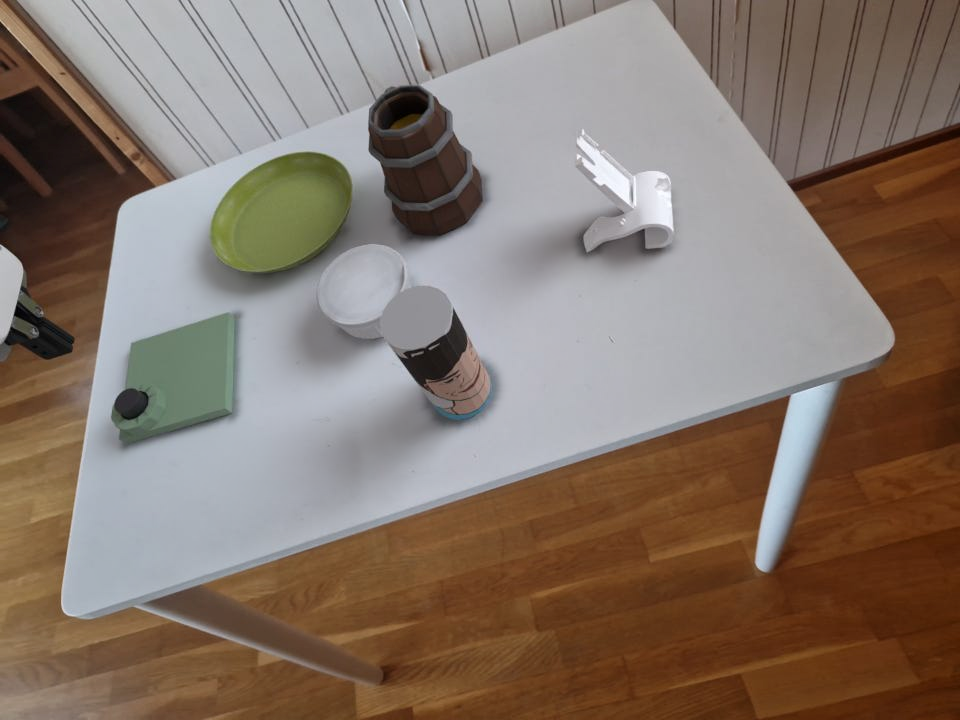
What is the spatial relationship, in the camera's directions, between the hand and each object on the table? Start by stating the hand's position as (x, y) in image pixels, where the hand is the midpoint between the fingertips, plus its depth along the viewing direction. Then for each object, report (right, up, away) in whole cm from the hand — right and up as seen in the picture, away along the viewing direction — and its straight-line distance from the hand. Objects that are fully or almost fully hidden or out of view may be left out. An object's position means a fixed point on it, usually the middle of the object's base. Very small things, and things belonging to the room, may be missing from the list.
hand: (61, 349), depth 67 cm
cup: (+40, -4, +5) cm, 41 cm away
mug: (+36, +21, +21) cm, 47 cm away
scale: (+5, -3, +16) cm, 17 cm away
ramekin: (+30, +5, +14) cm, 33 cm away
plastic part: (+59, +14, +10) cm, 62 cm away
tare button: (+1, -7, +12) cm, 14 cm away
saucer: (+16, +18, +25) cm, 34 cm away
